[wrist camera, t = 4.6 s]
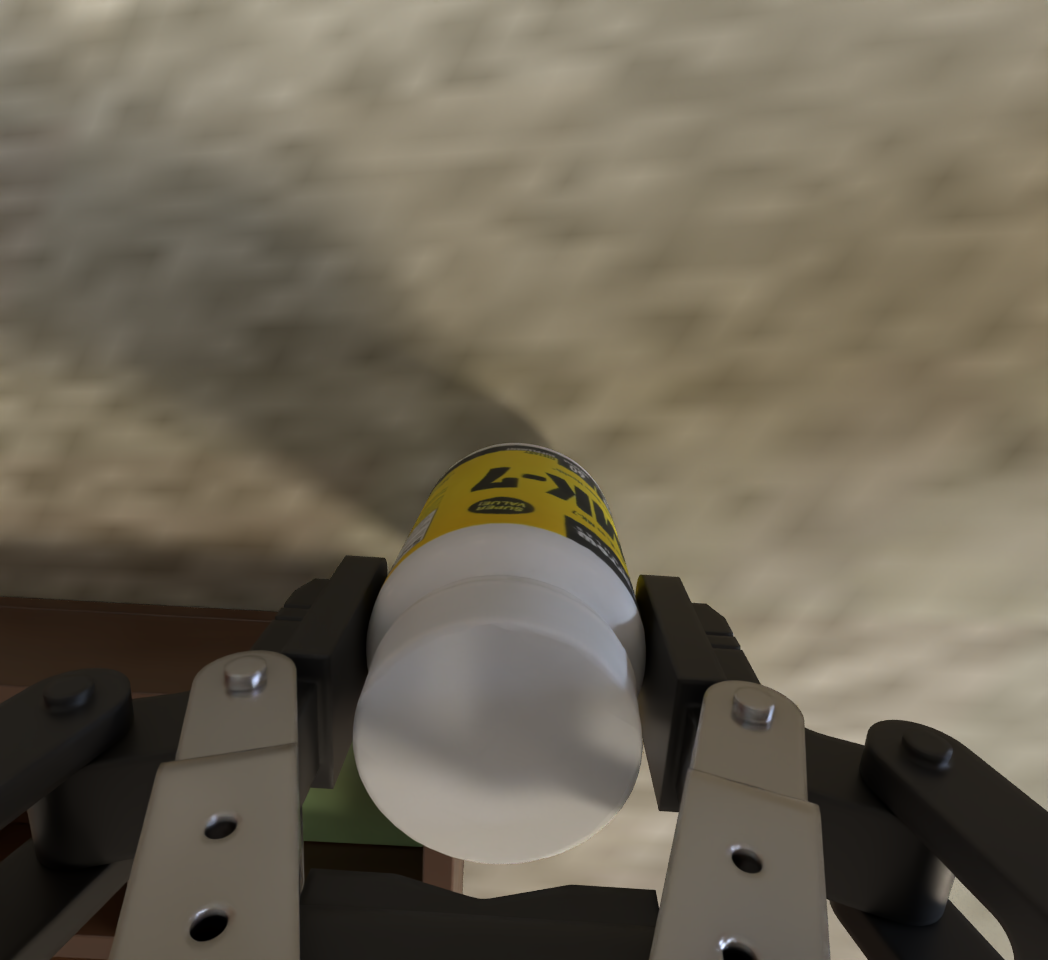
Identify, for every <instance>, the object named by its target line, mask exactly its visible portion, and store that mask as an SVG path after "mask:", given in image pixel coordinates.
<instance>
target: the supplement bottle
mask: <svg viewBox="0 0 1048 960" xmlns="http://www.w3.org/2000/svg"><path fill="white" fill-rule="evenodd" d="M366 657H367V668H368V675H367V678H366V681H365V684H364V686H363V689H362V692H361V694H360V697H359V700H358V703H357V707H356V711H355V716H354V723H353V751H354V757H355V762H356V766H357V770H358V773H359V776H360V778H361V780H362V782H363V784H364V786H365V788H366V790H367V792H368V794H369V796H370V797H371V799H372V800H373V802H374V803H375V805H376V806H377V807H378V809H379V810H380V811H381V812H382V813H383V814H384V815H385V816H386V817H387V818H388V819H389V820H390V821H391V822H392V823H393V824H394V825H395V826H396V827H397V828H399V829H400V830H401V831H403V832H404V833H405V834H406V835H408V836H409V837H411V838H412V839H413V840H415V841H417V842H419V843H421V844H422V845H424V846H426V847H428V848H430V849H433V850H436V851H438V852H440V853H443V854H446V855H448V856H451V857H455V858H458V859H462V860H467V861H472V862H478V863H486V864H516V863H526V862H530V861H534V860H539V859H544V858H548V857H551V856H555V855H558V854H561V853H563V852H565V851H568V850H570V849H572V848H574V847H576V846H578V845H580V844H582V843H584V842H585V841H586V840H588V839H589V838H591V837H592V836H594V835H595V834H596V833H598V832H599V831H600V830H601V829H602V828H604V827H605V826H606V825H607V824H608V823H609V822H610V821H611V820H612V819H613V818H614V817H615V815H616V814H617V813H618V812H619V811H620V809H621V808H622V807H623V805H624V804H625V802H626V800H627V799H628V797H629V796H630V794H631V792H632V790H633V787H634V785H635V782H636V779H637V776H638V773H639V769H640V765H641V757H642V749H643V742H642V726H641V721H640V715H639V706H638V696H639V693H640V690H641V687H642V683H643V678H644V674H645V665H646V642H645V631H644V627H643V623H642V619H641V614H640V610H639V606H638V604H637V601H636V598H635V594H634V590H633V587H632V584H631V581H630V578H629V574H628V570H627V566H626V563H625V559H624V556H623V553H622V550H621V546H620V542H619V539H618V535H617V532H616V530H615V526H614V522H613V519H612V515H611V512H610V509H609V507H608V504H607V502H606V499H605V497H604V495H603V493H602V491H601V490H600V488H599V486H598V485H597V483H596V482H595V481H594V479H593V478H592V477H591V476H590V475H589V473H588V472H587V471H586V470H584V469H583V468H582V467H581V466H580V465H579V464H577V463H576V462H575V461H573V460H572V459H570V458H569V457H567V456H565V455H563V454H561V453H559V452H557V451H554V450H552V449H549V448H545V447H542V446H538V445H533V444H525V443H503V444H496V445H492V446H488V447H485V448H482V449H479V450H477V451H475V452H473V453H471V454H469V455H467V456H466V457H464V458H462V459H461V460H460V461H458V462H457V463H455V464H454V465H453V466H452V467H451V468H450V469H449V470H448V471H447V472H446V473H445V474H444V475H443V476H442V477H441V479H440V480H439V481H438V483H437V484H436V485H435V487H434V488H433V490H432V492H431V493H430V496H429V498H428V500H427V502H426V503H425V505H424V507H423V509H422V511H421V513H420V515H419V517H418V519H417V521H416V523H415V525H414V526H413V528H412V530H411V532H410V534H409V536H408V538H407V540H406V542H405V544H404V546H403V547H402V549H401V551H400V553H399V555H398V557H397V559H396V561H395V563H394V565H393V566H392V569H391V571H390V572H389V574H388V576H387V578H386V580H385V582H384V584H383V586H382V588H381V590H380V592H379V594H378V596H377V599H376V601H375V604H374V607H373V610H372V613H371V616H370V620H369V625H368V630H367V639H366Z"/></svg>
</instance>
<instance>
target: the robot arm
mask: <svg viewBox="0 0 1048 960" xmlns="http://www.w3.org/2000/svg"><path fill="white" fill-rule="evenodd" d="M386 578H387V562H386V559H385V558H379V557H363V556H345V557H344V559H343V560H342V562H341V563H340V564H339V566H338V567H337V569H336V570H335V572H334V573H333V575H332V576H331V578H330V579H314V580H312V581H310V582H308V583H307V584H305V585H303V586H301V587H300V588H298V589H296V590H295V591H294V592H293V593H292V595H291V596H290V597H289V599H288V600H287V601H286V603H285V604H284V608H283V607H282V608H281V609H280V610H279V612H278V613H277V614H276V616H275V619H274V620H272V621H271V622H270V624H269V625H268V626H267V627H266V629H265V630H264V631H263V633H262V634H261V635H260V637H259V638H258V639H257V641H256V642H255V643H254V645H253V646H252V647H251V648H250V650H249V651H244V652H238V653H234V654H230V655H227V656H224V657H222V658H219V659H217V660H215V661H213V662H211V663H209V664H208V665H206V666H205V667H204V668H202V669H201V670H200V671H199V672H198V673H197V675H196V676H195V678H194V680H193V683H192V687H191V690H189V691H185V692H180V693H174V694H166V695H158V696H151V697H143V698H135V699H132V694H131V687H130V681H129V679H128V677H127V676H126V675H125V674H123V673H121V672H119V671H116V670H113V669H107V668H85V669H78V670H72V671H68V672H64V673H60V674H57V675H54V676H51V677H48V678H46V679H43V680H41V681H39V682H37V683H35V684H33V685H31V686H29V687H28V688H26V689H24V690H22V691H21V692H19V693H17V694H16V695H14V696H12V697H10V698H9V699H7V700H5V701H4V702H2V703H0V830H1V829H3V828H4V827H5V826H7V825H8V824H9V823H11V822H12V821H13V820H15V819H16V818H17V817H18V816H20V815H21V814H22V813H24V812H25V811H26V810H27V813H28V818H29V823H30V828H31V833H32V837H31V838H30V839H29V840H27V841H26V842H25V843H24V844H22V845H21V846H20V847H19V848H17V849H16V850H15V851H14V852H12V853H11V854H10V855H9V856H7V857H6V858H5V859H4V860H3V861H1V862H0V960H50V959H51V958H52V957H53V956H54V955H55V954H56V953H57V952H58V951H59V950H60V949H61V948H62V947H63V946H64V945H65V944H66V943H67V942H68V941H69V940H70V939H71V938H72V937H73V936H74V935H75V934H76V933H77V932H78V931H79V930H80V929H81V928H82V927H83V926H84V925H85V924H86V923H87V922H88V921H89V920H90V919H91V918H92V917H93V916H94V915H95V914H96V913H97V912H98V911H99V910H100V909H101V908H102V907H103V906H104V905H105V904H106V903H107V902H108V901H109V899H110V898H111V897H112V896H113V895H114V894H115V893H116V892H117V891H118V890H119V889H120V888H121V887H122V886H123V885H124V884H125V883H126V882H127V881H128V880H129V881H128V885H127V889H126V893H125V897H124V901H123V905H122V909H121V912H120V916H119V920H118V924H117V928H116V932H115V936H114V940H113V943H112V947H111V951H110V955H109V959H108V960H830V945H829V931H828V916H827V901H826V899H828V900H829V901H830V905H831V907H832V909H833V911H834V913H835V915H836V916H837V918H838V919H839V921H840V922H841V924H842V925H843V926H844V928H845V929H846V930H847V932H848V933H849V934H850V936H851V937H852V939H853V940H854V941H855V943H856V944H857V945H858V947H859V948H860V949H861V951H862V952H863V954H864V955H865V956H866V958H867V959H868V960H1004V959H1003V957H1002V956H1001V955H1000V954H999V953H998V952H997V951H996V950H995V949H994V948H993V947H992V946H991V945H990V943H989V942H988V941H987V940H986V939H985V938H984V937H983V936H982V935H981V934H980V933H979V932H978V930H977V929H976V928H975V927H974V926H973V925H972V924H971V923H970V922H969V921H968V920H967V919H966V918H965V916H964V915H963V914H962V913H961V912H960V911H959V910H958V909H957V908H956V907H955V906H954V905H953V904H952V902H951V901H950V900H949V899H948V897H949V894H950V891H951V888H952V885H953V882H954V879H955V877H956V878H957V879H958V880H959V881H960V882H961V883H962V884H963V885H964V886H965V887H966V888H967V889H968V890H969V891H970V892H971V893H972V894H973V895H974V896H975V897H976V898H977V899H978V900H979V901H980V902H981V903H982V904H983V905H984V906H985V907H986V908H987V909H988V910H989V911H990V912H991V913H992V915H993V916H994V917H995V918H996V919H997V920H998V922H999V923H1000V924H1001V926H1002V927H1003V929H1004V931H1005V932H1006V934H1007V936H1008V939H1009V941H1010V943H1011V946H1012V949H1013V953H1014V960H1048V812H1047V811H1046V810H1045V809H1044V808H1042V807H1041V806H1040V805H1039V804H1037V803H1036V802H1035V801H1034V800H1032V799H1031V798H1030V797H1029V796H1027V795H1026V794H1025V793H1024V792H1022V791H1021V790H1020V789H1019V788H1017V787H1016V786H1015V785H1014V784H1012V783H1011V782H1010V781H1008V780H1007V779H1006V778H1005V777H1003V776H1002V775H1001V774H1000V773H998V772H997V771H996V770H995V769H993V768H992V767H991V766H990V765H988V764H987V763H986V762H985V761H983V760H982V759H981V758H980V757H978V756H977V755H976V754H975V753H973V752H972V751H971V750H970V749H968V748H967V747H966V746H964V745H963V744H961V743H960V742H959V741H957V740H955V739H954V738H952V737H950V736H948V735H946V734H944V733H943V732H940V731H938V730H936V729H933V728H931V727H928V726H925V725H922V724H918V723H914V722H909V721H903V720H885V721H880V722H878V723H875V724H874V725H872V726H871V727H870V729H869V730H868V734H867V738H866V742H865V746H864V745H860V744H857V743H853V742H849V741H845V740H842V739H838V738H834V737H830V736H827V735H823V734H820V733H817V732H814V731H812V730H809V729H807V728H805V725H804V717H803V715H802V713H801V711H800V709H799V708H798V707H797V706H796V705H795V704H794V703H793V702H792V701H791V700H790V699H789V698H787V697H786V696H784V695H783V694H781V693H779V692H777V691H775V690H773V689H771V688H769V687H766V686H763V685H761V684H760V682H759V680H758V678H757V676H756V674H755V673H754V671H753V669H752V667H751V665H750V663H749V662H748V660H747V658H746V656H745V654H744V652H743V651H742V650H740V645H739V643H738V641H737V640H736V638H735V637H733V632H732V630H731V628H730V627H729V625H728V623H727V621H726V619H725V618H724V617H723V616H722V615H720V614H719V613H718V612H716V611H715V610H714V609H713V608H711V607H710V606H709V605H707V604H701V603H691V601H690V599H689V596H688V594H687V592H686V590H685V588H684V586H683V584H682V581H681V579H680V578H679V577H671V576H655V575H640V576H639V578H638V582H637V587H636V595H635V598H636V601H637V604H638V606H639V610H640V614H641V619H642V623H643V627H644V631H645V642H646V665H645V674H644V678H643V683H642V687H641V690H640V693H639V696H638V706H639V715H640V721H641V726H642V738H643V742H644V747H645V751H646V756H647V760H648V765H649V769H650V773H651V778H652V782H653V787H654V791H655V796H656V800H657V804H658V809H659V811H669V812H679V814H678V819H677V824H676V829H675V834H674V839H673V844H672V848H671V853H670V858H669V863H668V868H667V873H666V878H665V883H664V888H663V893H662V898H661V903H660V908H659V906H658V901H657V895H656V890H646V889H631V888H615V887H599V886H583V885H566V886H560V887H555V888H549V889H543V890H537V891H531V892H525V893H520V894H514V895H508V896H502V897H496V898H490V899H478V898H473V897H470V896H466V895H463V894H460V893H457V892H453V891H450V890H447V889H444V888H440V887H437V886H434V885H431V884H427V883H424V882H421V881H418V880H414V879H411V878H408V877H405V876H402V875H398V874H394V873H378V872H363V871H347V870H331V869H315V868H310V871H309V874H308V876H307V879H306V882H305V880H304V840H303V809H302V805H303V803H304V801H305V799H306V797H307V794H308V792H309V790H310V788H322V789H334V786H335V784H336V781H337V779H338V776H339V774H340V771H341V768H342V766H343V763H344V761H345V758H346V756H347V753H348V751H349V748H350V746H351V743H352V741H353V723H354V716H355V711H356V707H357V703H358V700H359V697H360V694H361V692H362V689H363V686H364V684H365V681H366V678H367V675H368V668H367V657H366V639H367V630H368V625H369V620H370V616H371V613H372V610H373V607H374V604H375V601H376V599H377V596H378V594H379V592H380V590H381V588H382V586H383V584H384V582H385V580H386Z"/></svg>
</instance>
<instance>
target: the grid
mask: <svg viewBox="0 0 1048 960" xmlns="http://www.w3.org/2000/svg"><path fill="white" fill-rule="evenodd" d="M277 613H278V612H271V611H253V610H235V609H217V608H199V607H181V606H162V605H144V604H126V603H108V602H90V601H72V600H54V599H36V598H18V597H0V703H2V702H4V701H5V700H7V699H9V698H10V697H12V696H14V695H16V694H17V693H19V692H21V691H22V690H24V689H26V688H28V687H29V686H31V685H33V684H35V683H37V682H39V681H41V680H43V679H46V678H48V677H51V676H54V675H57V674H60V673H64V672H68V671H72V670H78V669H85V668H107V669H113V670H116V671H119V672H121V673H123V674H125V675H126V676H127V677H128V679H129V681H130V687H131V694H132V699H135V698H143V697H151V696H158V695H166V694H174V693H180V692H185V691H189V690H191V687H192V683H193V680H194V678H195V676H196V675H197V673H198V672H199V671H200V670H201V669H202V668H204V667H205V666H206V665H208V664H209V663H211V662H213V661H215V660H217V659H219V658H222V657H224V656H227V655H230V654H234V653H238V652H244V651H249V650H250V648H251V647H252V646H253V645H254V643H255V642H256V641H257V639H258V638H259V637H260V635H261V634H262V633H263V631H264V630H265V629H266V627H267V626H268V625H269V624H270V622H271V621H272V620H274V619H275V616H276V614H277ZM302 809H303V840H304V880H305V882H306V879H307V876H308V874H309V871H310V868H315V869H331V870H347V871H363V872H378V873H394V874H398V875H402V876H405V877H408V878H411V879H414V880H418V881H421V882H424V883H427V884H431V885H434V886H437V887H440V888H444V889H447V890H450V891H453V892H457V893H460V894H462V892H463V868H464V860H462V859H458V858H455V857H451V856H448V855H446V854H443V853H440V852H438V851H436V850H433V849H430V848H428V847H426V846H424V845H422V844H421V843H419V842H417V841H415V840H413V839H412V838H411V837H409V836H408V835H406V834H405V833H404V832H403V831H401V830H400V829H399V828H397V827H396V826H395V825H394V824H393V823H392V822H391V821H390V820H389V819H388V818H387V817H386V816H385V815H384V814H383V813H382V812H381V811H380V810H379V809H378V807H377V806H376V805H375V803H374V802H373V800H372V799H371V797H370V796H369V794H368V792H367V790H366V788H365V786H364V784H363V782H362V780H361V778H360V776H359V773H358V770H357V766H356V762H355V757H354V751H353V741H352V743H351V746H350V748H349V751H348V753H347V756H346V758H345V761H344V763H343V766H342V768H341V771H340V774H339V776H338V779H337V781H336V784H335V786H334V789H322V788H310V790H309V792H308V794H307V797H306V799H305V801H304V803H303V805H302ZM31 837H32V833H31V828H30V823H29V818H28V813H27V810H26V811H25V812H24V813H22V814H21V815H20V816H18V817H17V818H16V819H15V820H13V821H12V822H11V823H9V824H8V825H7V826H5V827H4V828H3V829H1V830H0V862H1V861H3V860H4V859H5V858H6V857H7V856H9V855H10V854H11V853H12V852H14V851H15V850H16V849H17V848H19V847H20V846H21V845H22V844H24V843H25V842H26V841H27V840H29V839H30V838H31ZM128 881H129V880H128ZM128 881H127V882H126V883H125V884H124V885H123V886H122V887H121V888H120V889H119V890H118V891H117V892H116V893H115V894H114V895H113V896H112V897H111V898H110V899H109V901H108V902H107V903H106V904H105V905H104V906H103V907H102V908H101V909H100V910H99V911H98V912H97V913H96V914H95V915H94V916H93V917H92V918H91V919H90V920H89V921H88V922H87V923H86V924H85V925H84V926H83V927H82V928H81V929H80V930H79V931H78V932H77V933H76V934H75V935H74V936H73V937H72V938H71V939H70V940H69V941H68V942H67V943H66V944H65V945H64V946H63V947H62V948H61V949H60V950H59V951H58V952H57V953H56V954H55V955H54V956H53V957H52V958H51V959H50V960H108V959H109V955H110V951H111V947H112V943H113V940H114V936H115V932H116V928H117V924H118V920H119V916H120V912H121V909H122V905H123V901H124V897H125V893H126V889H127V885H128Z"/></svg>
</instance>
